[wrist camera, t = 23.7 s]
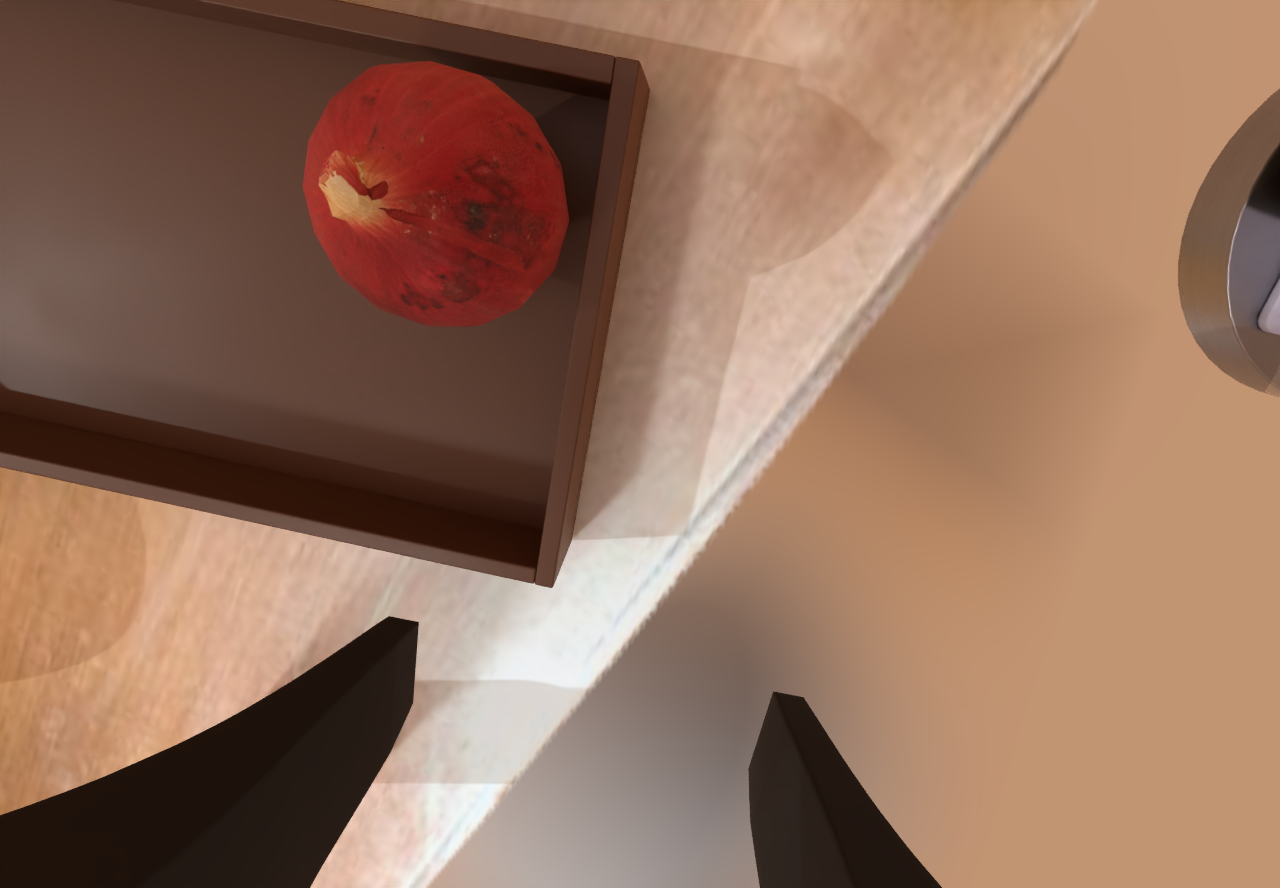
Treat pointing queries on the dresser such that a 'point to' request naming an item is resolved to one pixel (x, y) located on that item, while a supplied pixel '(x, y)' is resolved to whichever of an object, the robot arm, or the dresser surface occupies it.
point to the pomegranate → (435, 194)
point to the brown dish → (286, 282)
